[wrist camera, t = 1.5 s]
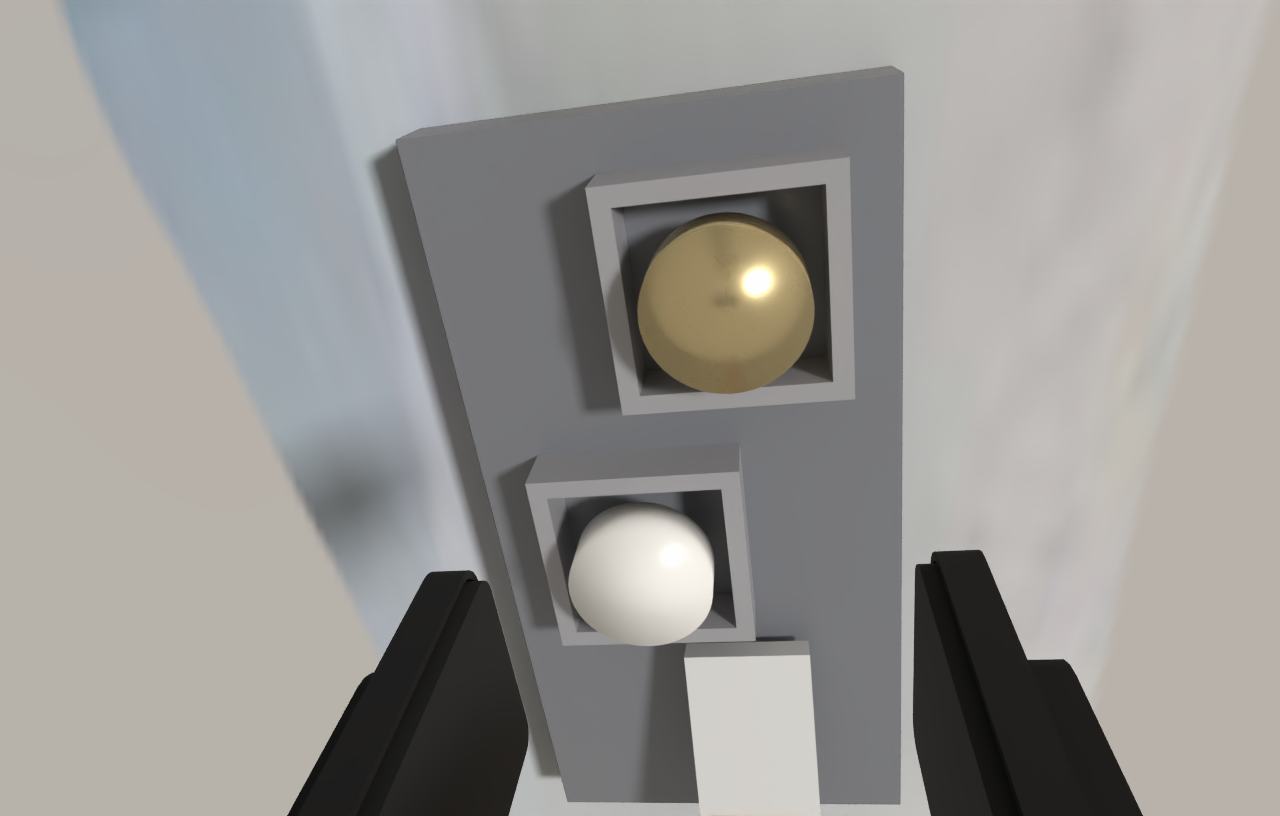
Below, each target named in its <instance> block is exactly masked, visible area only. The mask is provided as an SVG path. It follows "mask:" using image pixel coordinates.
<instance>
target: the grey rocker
mask: <svg viewBox="0 0 1280 816" xmlns="http://www.w3.org/2000/svg"><path fill="white" fill-rule="evenodd" d="M684 662H685V672H686V681H687V691H688V701H689V710H690V720H691V730H692V739H693V749H694V759H695V768H696V778H697V788H698V797H699V807H700V816H821V814H820V799H819V784H818V769H817V754H816V739H815V724H814V709H813V694H812V679H811V664H810V651H809V642H808V641H772V642H730V643H689V644H686V650H685V655H684Z"/></svg>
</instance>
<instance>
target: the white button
mask: <svg viewBox="0 0 1280 816" xmlns="http://www.w3.org/2000/svg"><path fill="white" fill-rule="evenodd" d="M714 565H715V563H714V553H713V549H712V546H711V543H710V541H709V539H708V537H707V536H706V534H705V533H704V532H703V530H702V529H701V528H700V527H699V526H698V525H697V524H696V523H695V522H694V521H693V520H692V519H690V518H689V517H688V516H686V515H685V514H683V513H681V512H679V511H677V510H675V509H673V508H670V507H667V506H664V505H661V504H656V503H649V502H632V503H625V504H620V505H617V506H614V507H611V508H609V509H607V510H605V511H603V512H601V513H600V514H598V515H597V516H596V517H595V518H593V519H592V520H591V521H590V522H589V524H588V525H587V526H586V527H585V529H584V531H583V532H582V534H581V537H580V540H579V543H578V546H577V549H576V553H575V556H574V559H573V563H572V566H571V570H570V574H569V582H568V587H569V594H570V597H571V600H572V603H573V605H574V607H575V609H576V610H577V612H578V613H579V615H580V616H581V617H582V618H583V619H584V621H585V622H587V623H588V624H589V625H590V626H591V627H592V628H594V629H595V630H596V631H598V632H599V633H601V634H603V635H605V636H606V637H609V638H611V639H613V640H616V641H619V642H622V643H626V644H630V645H637V646H658V645H664V644H668V643H672V642H675V641H678V640H680V639H682V638H684V637H686V636H688V635H689V634H691V633H692V632H693V631H695V630H696V629H697V628H698V627H699V626H700V625H701V624H702V623H703V621H704V620H705V619H706V617H707V615H708V613H709V611H710V608H711V605H712V599H713V584H714Z"/></svg>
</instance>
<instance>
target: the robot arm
mask: <svg viewBox="0 0 1280 816" xmlns="http://www.w3.org/2000/svg"><path fill="white" fill-rule="evenodd" d="M913 728H914V738H915V744H916V750H917V755H918V759H919V764H920V768H921V773H922V777H923V782H924V786H925V791H926V795H927V800H928V804H929V809H930V813H931V816H1143V815H1142V813H1141V811H1140V809H1139V807H1138V804H1137V802H1136V800H1135V798H1134V796H1133V794H1132V792H1131V790H1130V788H1129V785H1128V783H1127V781H1126V779H1125V777H1124V775H1123V773H1122V771H1121V769H1120V767H1119V765H1118V762H1117V760H1116V758H1115V756H1114V754H1113V752H1112V750H1111V748H1110V745H1109V743H1108V741H1107V739H1106V737H1105V735H1104V733H1103V731H1102V729H1101V726H1100V724H1099V722H1098V720H1097V718H1096V716H1095V714H1094V712H1093V710H1092V707H1091V705H1090V703H1089V701H1088V699H1087V697H1086V695H1085V693H1084V691H1083V688H1082V686H1081V684H1080V682H1079V680H1078V678H1077V676H1076V674H1075V672H1074V671H1073V669H1072V667H1071V666H1070V664H1069V663H1067V662H1066V661H1065V660H1064V659H1057V660H1027V658H1026V655H1025V653H1024V650H1023V648H1022V646H1021V643H1020V641H1019V638H1018V636H1017V634H1016V631H1015V629H1014V626H1013V624H1012V621H1011V619H1010V617H1009V614H1008V612H1007V609H1006V607H1005V605H1004V602H1003V600H1002V597H1001V595H1000V592H999V590H998V588H997V585H996V583H995V580H994V578H993V576H992V573H991V571H990V568H989V566H988V563H987V561H986V559H985V556H984V555H983V553H982V551H980V550H965V551H940V552H933V553H932V556H931V564H917V565H916V568H915V613H914V682H913ZM528 733H529V732H528V723H527V719H526V715H525V711H524V708H523V704H522V700H521V697H520V693H519V689H518V686H517V682H516V679H515V675H514V671H513V668H512V664H511V660H510V657H509V653H508V649H507V646H506V642H505V639H504V635H503V631H502V628H501V624H500V620H499V617H498V613H497V609H496V606H495V602H494V599H493V595H492V591H491V588H490V585H489V584H488V582H487V581H478V579H477V577H476V575H475V574H474V572H473V571H469V570H467V571H442V572H431V573H429V574H428V575H427V576H426V577H425V579H424V580H423V582H422V584H421V586H420V588H419V590H418V591H417V593H416V595H415V597H414V599H413V601H412V603H411V605H410V606H409V608H408V610H407V612H406V614H405V616H404V618H403V619H402V621H401V623H400V625H399V627H398V629H397V631H396V633H395V634H394V636H393V638H392V640H391V642H390V644H389V646H388V648H387V649H386V651H385V653H384V655H383V657H382V659H381V661H380V662H379V664H378V666H377V668H376V670H375V672H374V673H371V674H369V675H368V676H366V677H365V678H364V679H363V680H362V682H361V683H360V685H359V686H358V688H357V689H356V691H355V693H354V695H353V697H352V698H351V700H350V702H349V704H348V706H347V708H346V709H345V711H344V713H343V715H342V717H341V719H340V720H339V722H338V724H337V726H336V728H335V730H334V731H333V733H332V735H331V737H330V739H329V741H328V742H327V744H326V746H325V748H324V750H323V752H322V753H321V755H320V757H319V759H318V761H317V762H316V764H315V766H314V768H313V770H312V772H311V774H310V775H309V777H308V779H307V781H306V782H305V784H304V786H303V788H302V790H301V792H300V793H299V795H298V797H297V799H296V801H295V803H294V804H293V806H292V808H291V810H290V812H289V814H288V815H287V816H508V815H509V812H510V808H511V805H512V801H513V798H514V794H515V791H516V787H517V784H518V780H519V776H520V773H521V769H522V766H523V762H524V759H525V755H526V751H527V747H528Z"/></svg>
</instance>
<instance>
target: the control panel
mask: <svg viewBox="0 0 1280 816" xmlns="http://www.w3.org/2000/svg"><path fill="white" fill-rule="evenodd" d="M396 144H397V148H398V151H399V155H400V159H401V163H402V167H403V171H404V174H405V178H406V182H407V186H408V190H409V194H410V198H411V201H412V205H413V209H414V213H415V217H416V221H417V224H418V228H419V232H420V236H421V240H422V244H423V248H424V251H425V255H426V259H427V263H428V267H429V271H430V274H431V278H432V282H433V286H434V290H435V294H436V298H437V301H438V305H439V309H440V313H441V317H442V321H443V325H444V328H445V332H446V336H447V340H448V344H449V348H450V351H451V355H452V359H453V363H454V367H455V371H456V375H457V378H458V382H459V386H460V390H461V394H462V398H463V401H464V405H465V409H466V413H467V417H468V421H469V425H470V428H471V432H472V436H473V440H474V444H475V448H476V451H477V455H478V459H479V463H480V467H481V471H482V475H483V478H484V482H485V486H486V490H487V494H488V498H489V502H490V505H491V509H492V513H493V517H494V521H495V525H496V528H497V532H498V536H499V540H500V544H501V548H502V552H503V555H504V559H505V563H506V567H507V571H508V575H509V578H510V582H511V586H512V590H513V594H514V598H515V602H516V605H517V609H518V613H519V617H520V621H521V625H522V628H523V632H524V636H525V640H526V644H527V648H528V652H529V655H530V659H531V663H532V667H533V671H534V675H535V679H536V682H537V686H538V690H539V694H540V698H541V702H542V705H543V709H544V713H545V717H546V721H547V725H548V729H549V732H550V736H551V740H552V744H553V748H554V752H555V755H556V759H557V763H558V767H559V771H560V775H561V779H562V782H563V786H564V790H565V794H566V798H567V802H640V803H699V797H698V788H697V778H696V768H695V759H694V749H693V739H692V730H691V720H690V710H689V701H688V691H687V681H686V672H685V662H684V655H685V650H686V644H689V643H730V642H772V641H808V642H809V651H810V664H811V679H812V694H813V709H814V724H815V739H816V754H817V769H818V784H819V799H820V804H900V776H901V583H902V390H903V197H904V73H903V72H902V71H900V70H898V69H896V68H895V67H893V66H887V67H880V68H872V69H865V70H857V71H850V72H842V73H835V74H827V75H820V76H812V77H805V78H797V79H790V80H782V81H775V82H767V83H759V84H752V85H744V86H737V87H729V88H722V89H714V90H707V91H699V92H692V93H684V94H677V95H669V96H662V97H654V98H647V99H639V100H632V101H624V102H617V103H609V104H602V105H594V106H587V107H579V108H572V109H564V110H557V111H549V112H542V113H534V114H527V115H519V116H512V117H504V118H497V119H489V120H482V121H474V122H467V123H459V124H451V125H444V126H436V127H429V128H421V129H418V130H416V131H414V132H412V133H409V134H407V135H405V136H403V137H401V138H399V139H396ZM719 212H735V213H743V214H748V215H752V216H755V217H758V218H761V219H763V220H765V221H767V222H769V223H771V224H773V225H774V226H775V227H777V228H778V229H780V230H781V231H782V232H783V233H784V234H786V235H787V236H788V237H789V238H790V239H791V241H792V242H793V243H794V244H795V246H796V247H797V248H798V250H799V252H800V253H801V255H802V257H803V259H804V262H805V264H806V267H807V271H808V274H809V279H810V283H811V288H812V293H813V298H814V307H815V308H814V323H813V329H812V332H811V335H810V338H809V341H808V343H807V345H806V347H805V349H804V351H803V352H802V354H801V355H800V357H799V358H798V360H797V361H796V362H795V363H794V364H793V365H792V367H791V368H789V369H788V370H787V371H786V372H785V373H784V374H783V375H781V376H780V377H778V378H777V379H776V380H774V381H772V382H770V383H768V384H767V385H765V386H762V387H760V388H757V389H754V390H750V391H747V392H742V393H734V394H718V393H709V392H705V391H700V390H697V389H694V388H692V387H689V386H687V385H685V384H683V383H681V382H679V381H677V380H676V379H674V378H673V377H671V376H670V375H669V374H668V373H666V372H665V371H664V370H663V369H662V368H661V367H660V366H659V365H658V364H657V363H656V362H655V360H654V359H653V357H652V356H651V355H650V353H649V351H648V350H647V348H646V346H645V344H644V341H643V339H642V336H641V333H640V329H639V324H638V313H637V310H638V299H639V294H640V290H641V287H642V284H643V281H644V278H645V275H646V272H647V269H648V266H649V263H650V261H651V259H652V257H653V255H654V253H655V251H656V250H657V249H658V247H659V246H660V244H661V243H662V242H663V241H664V240H665V239H666V238H667V236H668V235H670V234H671V233H672V232H673V231H674V230H676V229H677V228H678V227H680V226H681V225H683V224H685V223H686V222H688V221H691V220H693V219H695V218H697V217H701V216H704V215H707V214H713V213H719ZM632 502H649V503H656V504H661V505H664V506H667V507H670V508H673V509H675V510H677V511H679V512H681V513H683V514H685V515H686V516H688V517H689V518H690V519H692V520H693V521H694V522H695V523H696V524H697V525H698V526H699V527H700V528H701V529H702V530H703V532H704V533H705V534H706V536H707V537H708V539H709V541H710V543H711V546H712V549H713V553H714V563H715V565H714V584H713V599H712V605H711V608H710V611H709V613H708V615H707V617H706V619H705V620H704V621H703V623H702V624H701V625H700V626H699V627H698V628H697V629H696V630H695V631H693V632H692V633H691V634H689V635H688V636H686V637H684V638H682V639H680V640H678V641H675V642H672V643H668V644H664V645H658V646H637V645H630V644H626V643H622V642H619V641H616V640H613V639H611V638H609V637H606V636H605V635H603V634H601V633H599V632H598V631H596V630H595V629H594V628H592V627H591V626H590V625H589V624H588V623H587V622H585V621H584V619H583V618H582V617H581V616H580V615H579V613H578V612H577V610H576V609H575V607H574V605H573V603H572V600H571V597H570V594H569V587H568V582H569V574H570V570H571V566H572V563H573V559H574V556H575V553H576V549H577V546H578V543H579V540H580V537H581V534H582V532H583V531H584V529H585V527H586V526H587V525H588V524H589V522H590V521H591V520H592V519H593V518H595V517H596V516H597V515H598V514H600V513H601V512H603V511H605V510H607V509H609V508H611V507H614V506H617V505H620V504H625V503H632Z"/></svg>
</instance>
